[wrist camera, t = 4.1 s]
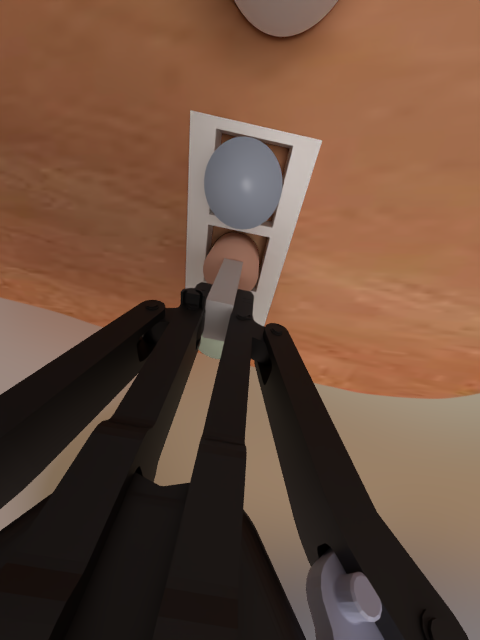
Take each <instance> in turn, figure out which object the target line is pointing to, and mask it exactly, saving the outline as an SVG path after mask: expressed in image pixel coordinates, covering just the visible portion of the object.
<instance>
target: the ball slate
mask: <svg viewBox="0 0 480 640" xmlns="http://www.w3.org/2000/svg"><path fill="white" fill-rule="evenodd" d="M204 190H205V196H206V199H207V202H208V205H209V207H210V209H211V210H212V212H213V213H214V215H215V216H216V217H217V218H218V219H219V220H220V221H221V222H223V223H224V224H226V225H227V226H230V227H232V228H235V229H251V228H254V227H257V226H259V225H261V224H262V223H264V222H265V221H266V220H267V219H268V218H269V217H270V216H271V215H272V214H273V212H274V211H275V209H276V207H277V205H278V203H279V200H280V197H281V193H282V173H281V169H280V165H279V163H278V160H277V158H276V157H275V155H274V153H273V152H272V151H271V149H270V148H269V147H268V146H267V145H265V144H264V143H263V142H261V141H259V140H257V139H255V138H251V137H245V136H244V137H235V138H232V139H230V140H227V141H226V142H224V143H223V144H221V145H220V146H219V147H218V148H217V149H216V150H215V151H214V153H213V154H212V156H211V158H210V160H209V161H208V164H207V167H206V171H205V176H204Z"/></svg>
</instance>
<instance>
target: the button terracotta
mask: <svg viewBox="0 0 480 640" xmlns="http://www.w3.org/2000/svg"><path fill="white" fill-rule="evenodd" d="M224 258H226V259H231V260H236V261H240V262H243V265H242V271H241V276H240V281H239V286H238V289H241V290H246V291H251V290H252V289H253V287H254V286H255V284H256V282H257V279H258V273H259V251H258V248H257V246H256V244H255V243H254V241H253V240H252V239H251V238H250V237H248V236H247V235H245V234H242V233H237V232H232V233H227V234H225V235H223V236H221V237H220V238H219V239H218V240H217V241H216V243H215V244H214V246H213V247H212V249H211V251H210V252H209V254H208V255H207V257H206V259H205V261H204V265H203V274H204V278H205V280H206V282H207V283H209V284H213V283H214V281H215V278H216V276H217V274H218V272H219V269H220V267H221V265H222V263H223V260H224Z"/></svg>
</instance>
